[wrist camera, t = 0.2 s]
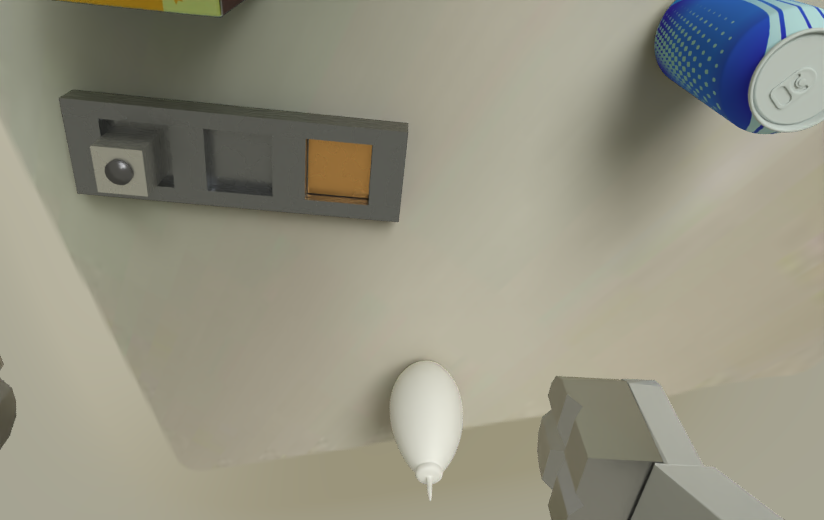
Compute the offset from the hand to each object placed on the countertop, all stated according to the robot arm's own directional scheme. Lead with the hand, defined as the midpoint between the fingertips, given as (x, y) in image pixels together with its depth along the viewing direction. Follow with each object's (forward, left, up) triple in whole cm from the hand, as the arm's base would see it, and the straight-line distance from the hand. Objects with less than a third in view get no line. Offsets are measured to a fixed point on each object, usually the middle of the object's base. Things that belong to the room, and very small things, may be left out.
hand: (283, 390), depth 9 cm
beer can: (+1, +27, -48) cm, 55 cm away
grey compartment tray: (+16, -12, -48) cm, 52 cm away
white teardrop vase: (+41, +8, -48) cm, 64 cm away
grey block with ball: (+16, -21, -47) cm, 53 cm away
